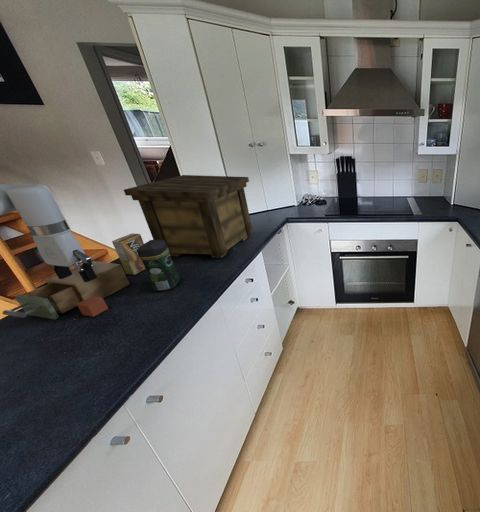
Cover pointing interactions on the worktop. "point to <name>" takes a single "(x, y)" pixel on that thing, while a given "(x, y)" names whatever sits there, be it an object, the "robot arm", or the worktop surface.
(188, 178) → the crate
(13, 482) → the worktop surface
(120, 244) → the candy box
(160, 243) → the coffee jar
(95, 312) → the block
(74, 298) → the drawer
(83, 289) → the cabinet
